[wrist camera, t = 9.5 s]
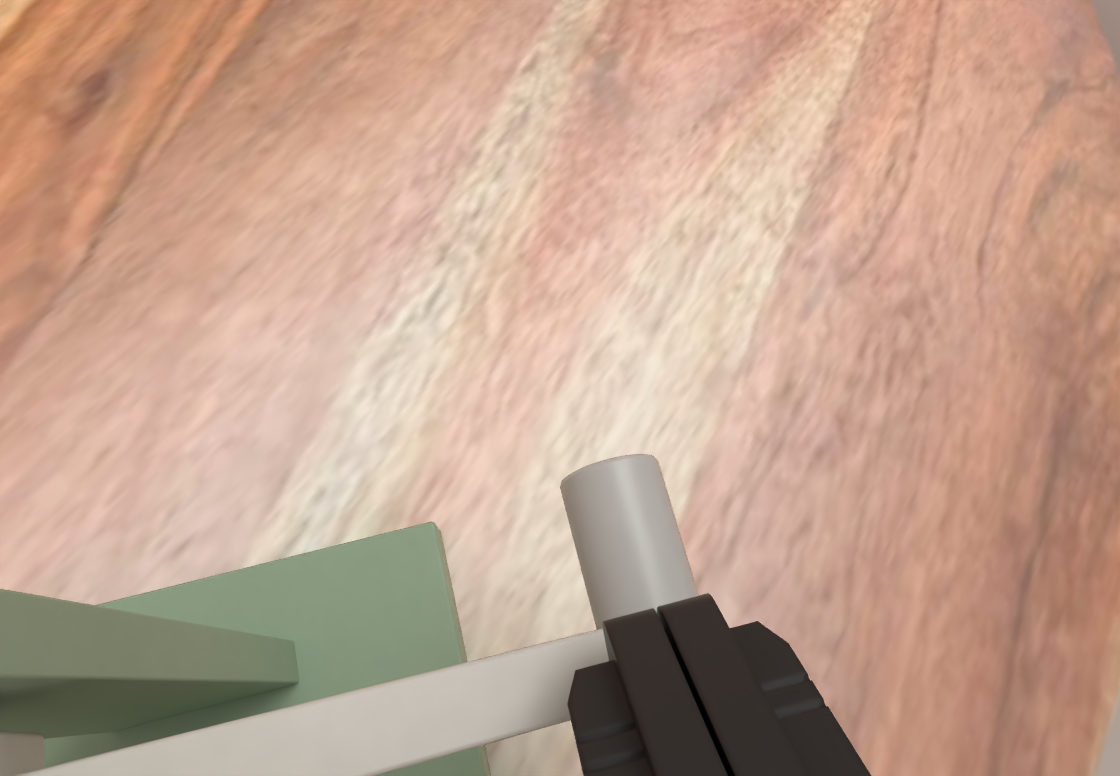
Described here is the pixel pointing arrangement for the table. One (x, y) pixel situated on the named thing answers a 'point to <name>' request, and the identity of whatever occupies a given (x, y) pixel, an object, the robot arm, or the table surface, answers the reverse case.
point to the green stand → (232, 647)
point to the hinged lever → (445, 694)
